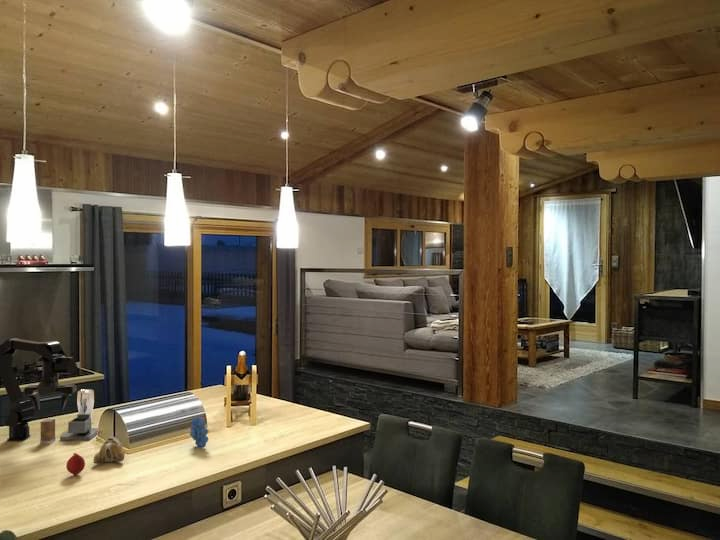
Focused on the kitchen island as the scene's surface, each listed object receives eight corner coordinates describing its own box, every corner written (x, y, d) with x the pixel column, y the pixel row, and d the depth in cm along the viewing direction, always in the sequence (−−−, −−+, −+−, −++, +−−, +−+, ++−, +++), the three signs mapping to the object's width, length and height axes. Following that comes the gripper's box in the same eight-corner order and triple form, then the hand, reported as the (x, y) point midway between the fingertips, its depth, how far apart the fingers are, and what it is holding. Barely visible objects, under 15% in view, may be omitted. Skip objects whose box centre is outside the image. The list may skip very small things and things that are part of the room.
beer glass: (77, 422, 266) (77, 390, 266) (93, 420, 269) (94, 388, 269) (76, 426, 260) (77, 393, 260) (94, 424, 263) (94, 392, 262)
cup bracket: (60, 440, 241) (60, 420, 240) (72, 431, 252) (72, 412, 252) (89, 440, 241) (89, 419, 241) (100, 431, 253) (100, 412, 253)
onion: (80, 470, 207) (80, 448, 207) (87, 475, 204) (88, 452, 204) (63, 475, 203) (63, 452, 203) (71, 479, 199) (71, 456, 199)
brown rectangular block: (40, 443, 236) (40, 421, 236) (44, 440, 240) (45, 419, 240) (50, 443, 236) (50, 421, 236) (55, 440, 240) (55, 418, 240)
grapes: (182, 445, 237) (182, 416, 236) (197, 441, 241) (198, 413, 241) (196, 452, 228) (196, 422, 228) (212, 448, 233) (212, 419, 233)
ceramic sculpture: (127, 430, 227) (123, 444, 212) (127, 452, 227) (123, 467, 213) (97, 432, 224) (91, 447, 209) (97, 454, 224) (92, 470, 210)
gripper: (17, 377, 229) (17, 416, 229) (67, 376, 232) (67, 415, 232) (29, 371, 240) (29, 408, 240) (77, 370, 243) (77, 407, 243)
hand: (50, 410), depth 238 cm, fingers open, 9 cm apart
